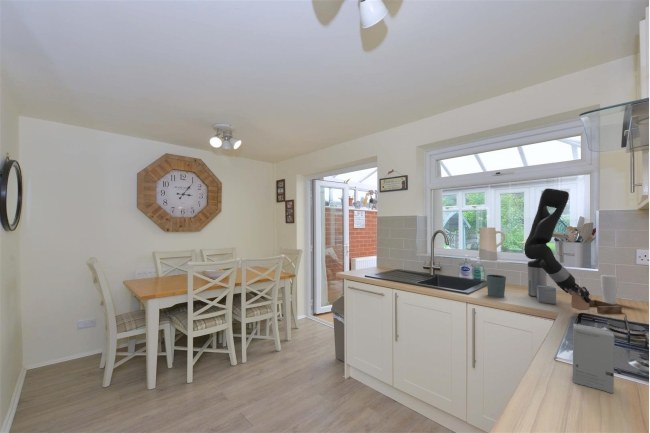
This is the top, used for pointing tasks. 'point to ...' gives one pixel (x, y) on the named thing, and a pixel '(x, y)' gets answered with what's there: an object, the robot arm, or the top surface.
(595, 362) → the grey upright rectangular block
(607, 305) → the frame
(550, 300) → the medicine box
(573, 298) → the terracotta block
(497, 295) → the green plant pot
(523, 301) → the top surface
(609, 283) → the drinking glass
